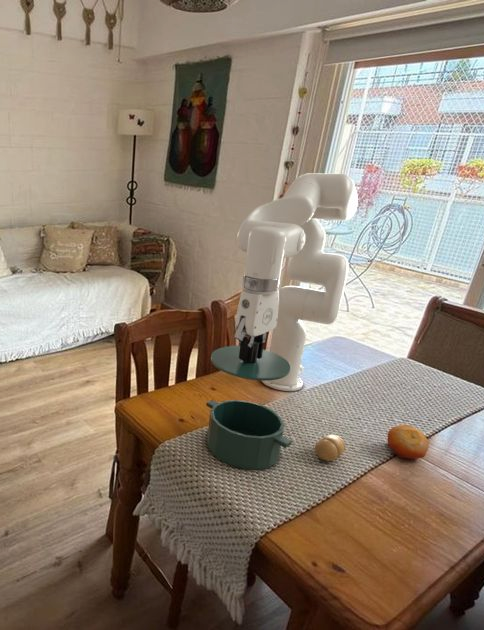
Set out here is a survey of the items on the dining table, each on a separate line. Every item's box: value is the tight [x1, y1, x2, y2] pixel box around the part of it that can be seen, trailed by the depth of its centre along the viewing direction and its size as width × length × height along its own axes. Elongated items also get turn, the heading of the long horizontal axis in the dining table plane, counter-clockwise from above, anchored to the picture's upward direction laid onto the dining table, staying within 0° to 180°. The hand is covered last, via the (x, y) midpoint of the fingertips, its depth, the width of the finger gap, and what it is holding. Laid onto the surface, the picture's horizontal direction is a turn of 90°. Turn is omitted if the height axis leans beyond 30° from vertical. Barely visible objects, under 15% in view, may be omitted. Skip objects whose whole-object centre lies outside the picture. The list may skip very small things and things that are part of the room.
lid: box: [210, 338, 291, 382], centre depth 103 cm, size 18×18×6 cm
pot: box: [205, 399, 293, 471], centre depth 106 cm, size 17×22×8 cm
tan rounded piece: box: [314, 434, 346, 462], centre depth 104 cm, size 8×5×5 cm, turn 126°
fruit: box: [386, 424, 430, 460], centre depth 105 cm, size 8×8×8 cm
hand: (250, 357), depth 103 cm, fingers closed on lid, 3 cm apart
